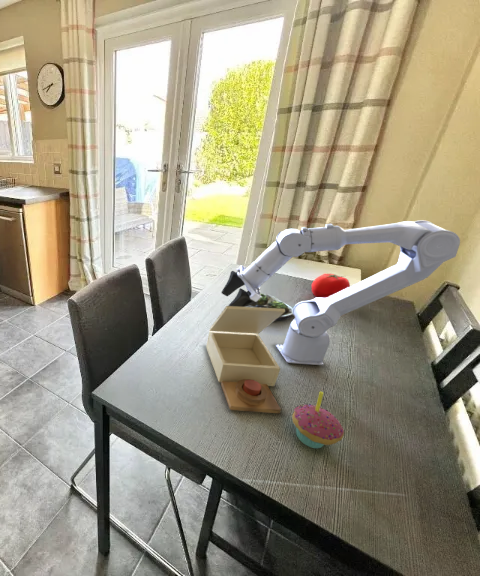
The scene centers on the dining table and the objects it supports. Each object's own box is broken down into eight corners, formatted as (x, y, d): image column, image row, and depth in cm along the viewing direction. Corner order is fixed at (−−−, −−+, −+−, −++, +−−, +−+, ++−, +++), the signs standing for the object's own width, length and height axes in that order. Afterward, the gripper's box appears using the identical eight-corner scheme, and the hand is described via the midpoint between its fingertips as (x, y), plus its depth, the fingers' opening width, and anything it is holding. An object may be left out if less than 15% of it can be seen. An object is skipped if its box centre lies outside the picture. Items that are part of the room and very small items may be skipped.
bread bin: (274, 386, 77) (280, 368, 74) (218, 382, 78) (222, 364, 75) (253, 350, 90) (258, 333, 87) (206, 347, 91) (209, 331, 88)
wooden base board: (265, 387, 76) (269, 378, 75) (279, 413, 69) (283, 404, 68) (220, 384, 77) (222, 375, 76) (229, 409, 70) (232, 400, 69)
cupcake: (278, 422, 67) (294, 381, 62) (314, 419, 68) (333, 378, 62) (305, 459, 59) (326, 416, 54) (346, 456, 60) (370, 412, 55)
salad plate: (222, 297, 119) (224, 286, 117) (262, 292, 122) (265, 282, 120) (256, 324, 102) (259, 312, 100) (301, 317, 105) (305, 306, 103)
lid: (285, 311, 73) (284, 308, 73) (226, 308, 74) (226, 305, 75) (258, 333, 87) (258, 331, 87) (209, 331, 88) (209, 328, 88)
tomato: (352, 305, 113) (363, 280, 108) (318, 305, 113) (327, 280, 108) (332, 291, 123) (341, 268, 118) (300, 291, 123) (308, 268, 118)
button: (256, 385, 73) (258, 379, 73) (262, 396, 70) (263, 391, 69) (240, 384, 74) (242, 378, 73) (245, 395, 71) (247, 389, 70)
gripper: (244, 248, 86) (211, 282, 94) (259, 276, 74) (221, 311, 82) (263, 260, 87) (229, 292, 95) (281, 289, 76) (241, 323, 83)
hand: (226, 302), depth 89 cm, fingers open, 7 cm apart
